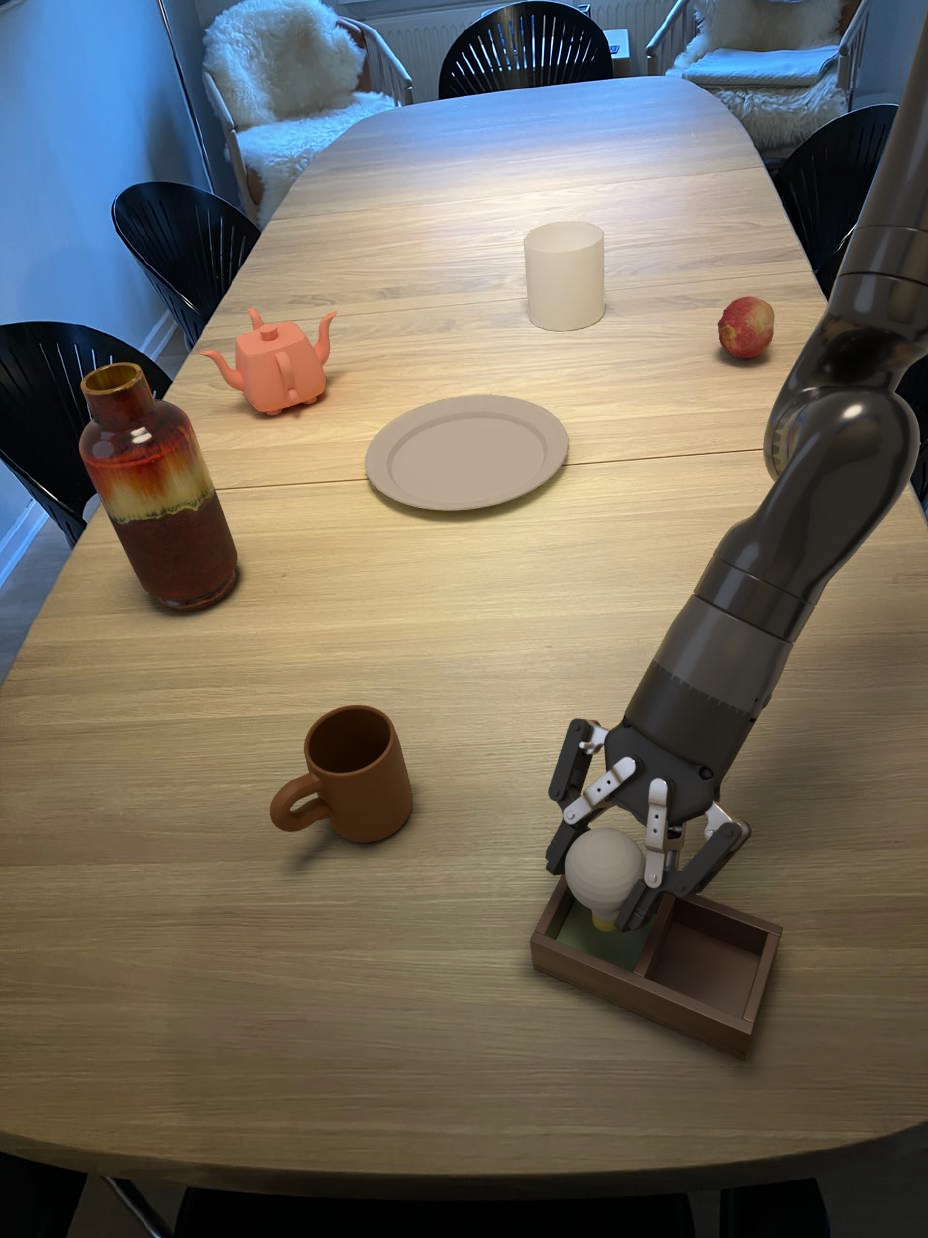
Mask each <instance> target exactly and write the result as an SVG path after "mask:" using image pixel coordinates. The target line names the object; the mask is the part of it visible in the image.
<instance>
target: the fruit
mask: <svg viewBox="0 0 928 1238" xmlns="http://www.w3.org/2000/svg"><path fill="white" fill-rule="evenodd" d="M722 311H723V312H722V316H721V318H720V319H719V320H718V322H717V326H718V327H717V328H718V329H717V332H718V340H719V343H720V345H721V347H722V349H724V350H725V352H727V353H728V354H729V355H730V356H732V357H733V358H738V359H743V360H744V359H745V360H746V359H750V358H754V357H756V356H759V355H761V354H762V353H764V352H765V351H766V350H767V349H768V348H769V347H770V345H771V343H772V341H773V338H774V333H775V332H774V328H775V327H774V325H775V319H776V317H775V316H776V315H775V312H774V308H773V306H772V305H771V304H770V303H768V302H767V301H765V300H763V299H761V298H758V297H756V296H743V297H739V298H736V299H735V300H733V301H732V302H730V304H728V306H726V308H725V309H723V310H722Z"/></svg>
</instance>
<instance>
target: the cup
mask: <svg viewBox="0 0 928 1238" xmlns="http://www.w3.org/2000/svg"><path fill="white" fill-rule="evenodd" d="M523 252H524V267H525V281H526V282H525V283H526V295H527V311H528V318H529V321H530V322H531V323H532V324H533V325H535V326H536V327H537V328H540V329H544V330H548V331H554V332H555V331H556V332H568V331H570V332H571V331H576V330H580V329H584V328H587V327H590V326H592V325H594V324H595V323H597V322H598V321H600V320H601V319H602V318H603V317H604V315H605V311H606V308H605V307H606V303H605V302H606V301H605V297H606V295H605V287H606V286H605V232H604V230H603V229H602V228H601V227H600V226H599V225H596V224H595V223H591V222H588V221H580V220H563V221H554V222H550V223H546V224H542V225H540V226H538V227H535V228H534V229H531V230H530V231H529V232H528V233H527V234H526V235H525V236H524V238H523Z"/></svg>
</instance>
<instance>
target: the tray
mask: <svg viewBox="0 0 928 1238" xmlns="http://www.w3.org/2000/svg"><path fill="white" fill-rule="evenodd" d="M783 930H784V927H783V926H781V925H779V924H776V923H773V922H771V921H769V920H766V919H763V918H761V917H757V916H755V915H752V914H750V913H748V912H744V911H742V910H739V909H736V908H734V907H732V906H728V905H726V904H723V903H721V902H718V901H715V900H713V899H709V898H708V897H704V896H702V895H699V894H691V895H688V896H686V897H678V896H676V895H675V894H674V893H672V892H669V891H667V892H666V893H665V895H664V896H663V898H662V900H661V902H660V904H659V905H658V907H657V909H656V910H655V913H654V914H653V916H652V918H651V920H650V921H649V923H648V924H647V925H645V926H644V927H643V928H640V929H636V930H632V931H628V932H625V933H622V932H620V931H619V930H618V929H616V930H614V931H611V932H604V931H601V930H599V929H598V928H596V927H595V925H594V924H593V922H592V910H591V909H590V908H588V907H586V906H584V905H583V904H582V903H580V902H579V901H578V900H577V899H576V898H575V896H574V895H573V893H572V892H571V890H570V888H569V886H568V883H567V881H566V875H565V874H563V875H560V878H559V879H558V882H557V884H556V886H555V888H554V890H553V892H552V894H551V896H550V898H549V900H548V902H547V904H546V906H545V908H544V910H543V913H542V914H541V916H540V918H539V920H538V922H537V924H536V927H535V929H534V931H533V932H532V935H531V937H530V939H529V947H530V953H531V961H532V967H533V969H535V970H538V971H539V972H543V973H545V974H547V975H549V976H552V977H554V978H555V979H558V980H561V981H563V982H565V983H567V984H569V985H572V986H574V987H577V988H579V989H581V990H583V991H586V992H588V993H590V994H593V995H594V996H597V997H599V998H601V999H604V1000H606V1001H608V1002H610V1003H613V1004H614V1005H617V1006H619V1007H622V1008H623V1009H626V1010H629V1011H631V1012H633V1013H636V1014H637V1015H639V1016H643V1017H644V1018H647V1019H649V1020H652V1021H654V1022H656V1023H658V1024H660V1025H662V1026H665V1027H667V1028H669V1029H671V1030H674V1031H676V1032H679V1033H681V1034H683V1035H685V1036H688V1037H690V1038H692V1039H694V1040H697V1041H698V1042H701V1043H703V1044H705V1045H708V1046H710V1047H712V1048H715V1049H716V1050H717V1049H718V1050H719V1051H721V1052H724V1053H726V1054H728V1055H731V1056H733V1057H735V1058H737V1059H740V1060H742V1061H746V1058H747V1055H748V1051H749V1048H750V1046H751V1042H752V1038H753V1035H754V1031H755V1028H756V1025H757V1022H758V1018H759V1014H760V1011H761V1008H762V1005H763V1002H764V998H765V994H766V992H767V988H768V984H769V982H770V977H771V974H772V971H773V968H774V964H775V960H776V957H777V954H778V949H779V947H780V941H781V937H782V933H783Z"/></svg>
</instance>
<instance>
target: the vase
mask: <svg viewBox="0 0 928 1238" xmlns="http://www.w3.org/2000/svg"><path fill="white" fill-rule="evenodd" d="M80 389H81V392H82V395H83V396H84V399H85V401H86V403H87V407H88V409H89V411H90V413H91V417H92V418H91V419H90V420H89V421H88V423H87V424H86V426H85V427H84V429H83V431H82V432H81V435H80V437H79V442H78V452H79V455H80V458H81V460H82V463H83V465H84V467H85V469H86V472H87V474H88V476H89V478H90V481H91V483H92V484H93V487H94V489H95V491H96V493H97V495H98V498H99V499H100V502H101V503H102V506H103V508H104V510H105V512H106V515H107V516H108V520H109V521H110V524H111V525H112V528H113V529H114V532H115V533H116V536H117V538H118V540H119V542H120V544H121V546H122V549H123V551H124V552H125V555H126V557H127V559H128V561H129V564H130V565H131V567H132V569H133V572H134V573H135V576H136V577H137V579H138V581H139V583H140V585H141V586H142V589H143V590H144V591H145V592H146V593H148V594H149V595H150V596H152V597H155V598H156V599H157V601H158V603H159V604H160V605H161V606H162V607H164V608H165V609H167V610H170V611H172V612H177V613H190V612H196V611H201V610H203V609H207V608H208V607H211V606H213V605H215V604H217V603H218V602H220V601H222V600H223V599H224V598H225V597H227V596H228V595H229V593H231V591H232V589H233V588H234V586H235V584H236V582H237V581H236V580H237V573H236V570H235V569H236V566H237V562H238V551H237V548H236V544H235V541H234V538H233V536H232V533H231V529H230V527H229V524H228V522H227V518H226V516H225V513H224V510H223V508H222V505H221V501H220V499H219V496H218V493H217V490H216V488H215V485H214V482H213V479H212V476H211V473H210V471H209V468H208V466H207V462H206V460H205V457H204V454H203V451H202V448H201V446H200V443H199V441H198V437H197V435H196V433H195V430H194V427H193V425H192V422H191V420H190V418H189V416H188V414H187V413H186V412H185V411H184V410H183V409H182V408H180V407H179V406H177V405H176V404H175V403H171V402H169V401H166V400H164V399H160V398H154V396H153V393H152V391H151V388H150V386H149V383H148V380H147V379H146V376H145V374H144V371H143V370H142V368H141V366H140V365H139V364H136V363H133V362H116V363H111V364H107V365H104V366H101V367H99V368H96V369H94V370H92V371H91V372H89V373H88V374H87V375H85V376H84V377H83V378H82V379H81V382H80Z"/></svg>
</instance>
